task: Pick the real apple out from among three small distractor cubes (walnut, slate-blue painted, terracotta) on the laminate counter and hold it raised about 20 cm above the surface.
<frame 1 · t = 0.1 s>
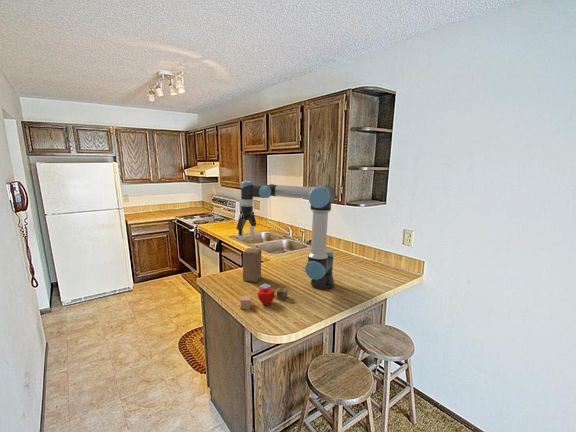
hand: (246, 237, 179), 28 cm above the countertop, fingers open, 13 cm apart
apple: (266, 303, 151), on the countertop
terracotta cube: (245, 306, 147), on the countertop
walnut cube: (281, 297, 158), on the countertop
wooden block: (252, 279, 183), on the countertop
slate-blue cube: (265, 293, 163), on the countertop
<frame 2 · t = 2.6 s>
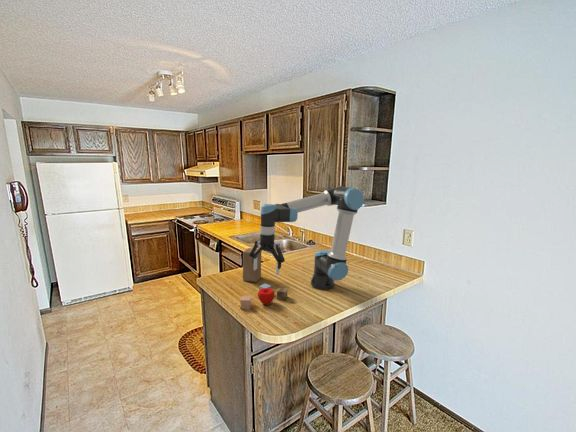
hand: (266, 271, 148), 18 cm above the countertop, fingers open, 13 cm apart
nothing on the countertop moved.
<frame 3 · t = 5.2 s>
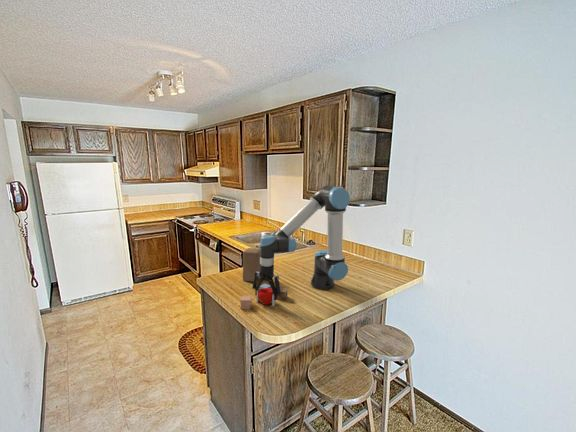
hand: (265, 303, 151), 0 cm above the countertop, fingers open, 9 cm apart
apple: (266, 303, 151), on the countertop, touching gripper
everything else where it was.
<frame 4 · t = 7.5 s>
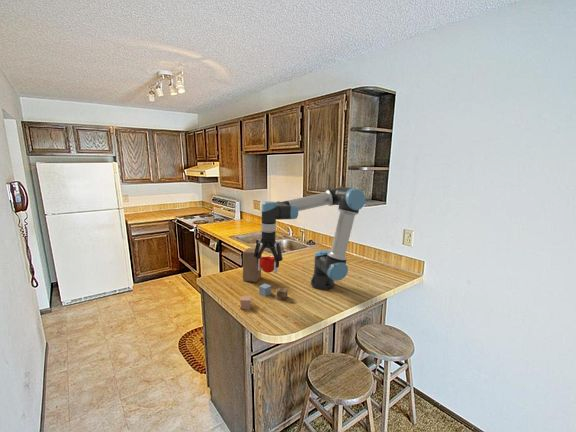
hand: (267, 271, 149), 18 cm above the countertop, fingers closed on apple, 9 cm apart
apple: (267, 271, 149), point 18 cm above the countertop, touching gripper
everything else where it was.
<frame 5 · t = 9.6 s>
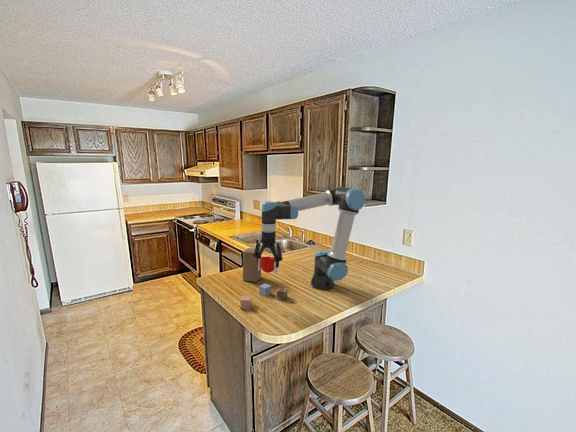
hand: (267, 271, 149), 18 cm above the countertop, fingers closed on apple, 9 cm apart
apple: (267, 271, 149), point 18 cm above the countertop, touching gripper
everything else where it was.
at the end: the gripper is holding apple; apple point 17.9 cm above the countertop; terracotta cube moved 0.1 cm from its start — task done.
